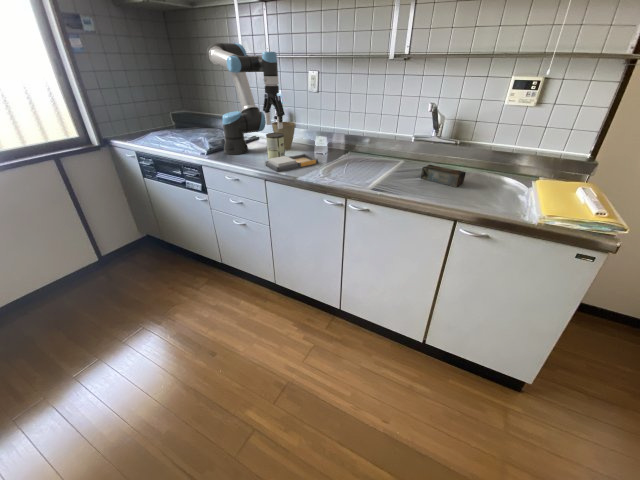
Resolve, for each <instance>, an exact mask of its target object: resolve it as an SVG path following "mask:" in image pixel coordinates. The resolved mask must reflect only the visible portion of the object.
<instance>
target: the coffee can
mask: <svg viewBox="0 0 640 480" xmlns="http://www.w3.org/2000/svg"><path fill="white" fill-rule="evenodd" d="M265 136H266V139H265V140H266V148H267V160H268V159H271V158H276V157H282V156H286V153H285V151H286V150H285V149H284V134H283V133H274V132H269V133H266V134H265Z"/></svg>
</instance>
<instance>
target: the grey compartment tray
mask: <svg viewBox="0 0 640 480" xmlns="http://www.w3.org/2000/svg"><path fill="white" fill-rule="evenodd" d="M318 164H319V159H318V158H316V157H313V156H311V155H309V154H306V153H302V154H296V155H293V156H286V155H285V156H282V157H276V158H271V159H268V158H267V161H265V166H266V167H267V168H269V169H270V170H273V171H275V172H276V173H281V172H285V171H289V170H290V171H291V170H295V169H299V168H304V167H309V166H312V165H313V166H314V165H318Z"/></svg>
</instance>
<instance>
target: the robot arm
mask: <svg viewBox="0 0 640 480" xmlns="http://www.w3.org/2000/svg"><path fill="white" fill-rule="evenodd" d="M206 58H207V59H208V61H209V62H210V63H211V64H213V65H214V66H215V65H216V66H222V67H225V68H227V70H228V72H230V73H231V76H232V79H233V83H234V85H235V90H236V92H237V96H238V99H239V103H240V105H241V111H240V110H239V111H238V110H237V111H231V112H226V113H224V114H223V115H222V126H223V132H224V140H225V141H224V146H223V151H224V154H227V155H242V154H243V155H244V154H246V153H248V152H249V147H248V145H247V141H246V139H245V134H249V133H251V134H252V133H258V132H262V131H263V130H265V128H266V126H272V119H271V108H272V106H273V107H274V109H275V112H276V115H277V116H276V118H277V121H276V122H278V129H282V128H283V122H284V121H283V116H285V114H286V113H285V109H284V106H283V103H282V100H281V99H282V98H281V96H280V95H278V94H279V93H280V89H279V88H280V85H279V73H278V72H279V71H278V69H279V68H278V57H277V52H276V51H262V53H261V55H248V54H247V51H246V49H245V47H244V46H243V45H242V44H241V43H236V42H232V43H231V42H230V43H229V42H227V43H226V42H214V43H212V44H210V45H209V46H208V47H207V50H206ZM247 73H263V81H264V82H263V84H264V96H263V97H264V101H263V106H262V108H263V109H262V111H263V112H262V111H260V108H259V107H258V106H256V103H255V100H254V97H253V93H252V89H251V87H250V82H249V80H248V79H249V78H248V75H247Z"/></svg>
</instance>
